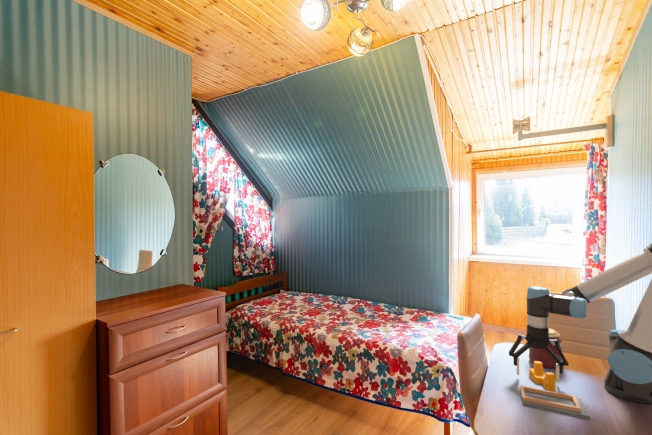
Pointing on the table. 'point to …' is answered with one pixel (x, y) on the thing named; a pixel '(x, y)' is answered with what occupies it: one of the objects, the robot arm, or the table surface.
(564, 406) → the holder board
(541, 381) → the pipe clamp
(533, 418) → the table surface
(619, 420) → the table surface
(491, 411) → the table surface
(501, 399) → the table surface
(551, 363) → the canister
